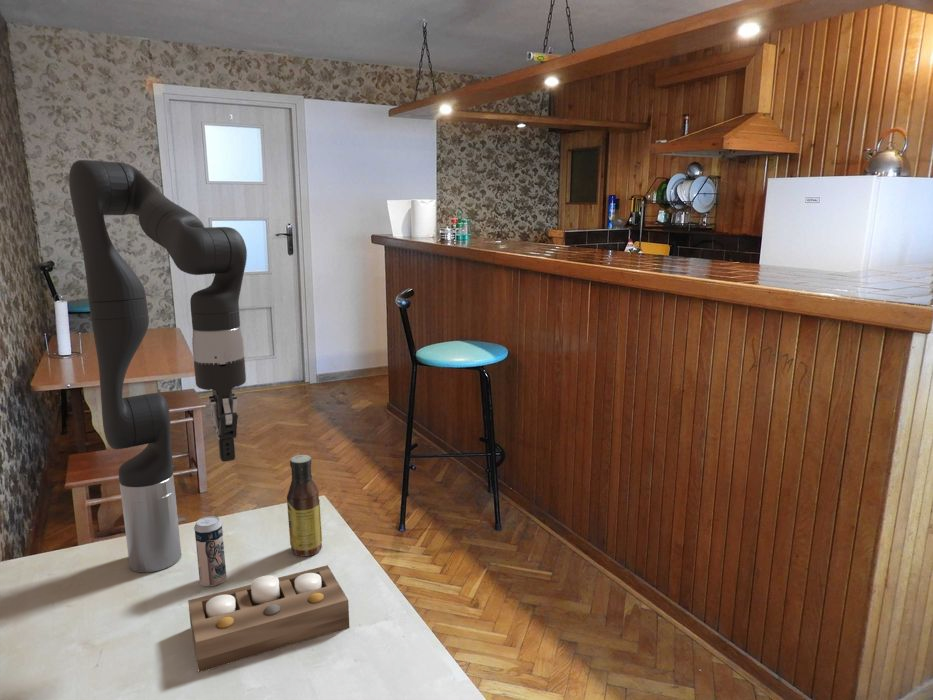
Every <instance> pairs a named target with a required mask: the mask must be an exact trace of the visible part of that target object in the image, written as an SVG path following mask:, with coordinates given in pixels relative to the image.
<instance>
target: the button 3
mask: <svg viewBox="0 0 933 700" xmlns="http://www.w3.org/2000/svg"><path fill="white" fill-rule="evenodd" d="M319 588H322V583H321V576H320V575H319V574H316V573H306V574H302V575H300V576H298V577H297V578H296V579H295V593H296V595H297V594H301V593H304V592H308V591H312V590H316V589H319Z"/></svg>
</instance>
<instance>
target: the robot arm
mask: <svg viewBox="0 0 933 700" xmlns="http://www.w3.org/2000/svg"><path fill="white" fill-rule="evenodd" d="M68 186H69V194H70V200H71V204H72V209H73V213H74V218H75V223H76V227H77V231H78V236H79V241H80V245H81V251H82V255H83V263H84V270H85V279H86V280H85V281H86V287H87V298H88V300H87V301H88V306H89V314H90V322H91V327H92V332H93V339H94V346H95V350H96V358H97V364H98V373H99V388H100V400H101V401H100V402H101V403H100V404H101V417H102V418H101V419H102V428H103V433H104V437H105V440H106V442H107V444H108V446H109V447H110V448H111V449H113V450H123V449H124V450H125V449H128V448H133V447H140V446H144V445H146V447H144V449H143V450H141V451H140V452H139V453H138V454H136V455H134V456H132V457H130V459H128V460H126V461H125V462H123V463H122V464H121V465H120V466H119V469H118V472H117V473H118V481H119V489H120V497H121V498H120V499H121V507H122V514H123V515H122V516H123V522H124V531H125V537H126V539H125V540H126V547H127V557H128V563H129V568H130V569H131V570H133V572H139V573H152V572H158V571H160V570H161V571H162V570H164V569H166V568H170V567H171V566H173V565H175V564H176V563H178V561H180V559H181V558H182V549H181V548H182V547H181V538H180V537H181V535H180V526H179V517H178V508H177V497H176V489H175V488H176V487H175V479H174V477H175V476H174V469H173V453H172V452H173V451H172V434H171V432H172V431H171V430H172V429H171V413H170V408H169V405H168V401H167V400H166V398H165V396H163V394H161V393H158V392H152V393H146V394H145V393H144V394H140V395H133V396H127V397H123V390H124V381H125V378H126V374H127V371H128V368H129V366H130V364H131V362H132V359H133V358H134V356H135V355H136V352H137V351H138V350H139V348H140V346H141V344H142V342H143V339H144V338H145V336H146V334H147V331H148V328H149V324H150V317H149V309H148V308H149V307H148V301H147V294H146V289H145V286H144V284H143V283H142V281H141V279H140V278H139V276H138V275H137V274H136V273H135V272H134V270H133V269H132V268H131V267H130V265H129V264H128V263H127V261H126V260H125V259H124V258H123V257H122V255H121V254H120V253H119V252H118V250H117V249H116V247H115V246H114V244H113V242H112V240H111V237H110V235H109V232H108V229H107V226H106V222H105V216H127V215H135V216H138V224H139V225H140V228H141V230H142V231H143V233H144V235H146V236H147V237H148V238H149V239H151V240H152V241H153V242H155V243H156V244H158V245H159V246H161V247H163V248H164V249H165V250H166V252H167V253H168V255H169V256H170V258H171V259H172V261H173V263H174V265H175V266H176V267H177V269H179V270H180V271H181V272H183V273H186V274H189V275H193V276H201V275H202V276H203V275H213V274H214V277H213V281H212V282H211V284H210V285H209V286H207V287H205V288H203V289H200V290H197V291H195V292H193V293H192V295H191V296H190V300H189V301H190V304H189V305H190V314H191V327H192V328H191V329H192V338H191V339H192V340H191V341H192V343H191V344H192V346H191V347H192V355H193V357H192V359H193V367H194V380H195V386H196V387H197V388H198V389H201V390H206V391H211V392H212V393H211V394H212V395H208V396H207V398H208V400H207V401H208V406H210V413H211V414H210V415H211V420H212V423H213V427H214V428H213V429H215V431H216V432H215V435H216V437H217V440H218V441H217V442H218V452H219V458H220V461H221V462H224V463H225V462H230V461H234V460H235V459H236V452H235V440H234V439H236V438H237V436H238V433H237V429H238V418H239V415H238V414H237V408H238V407H239V406H238V404H239V403H238V397H237V396H236V395H235V392H233V391H232V390H233V389H234V388H239V387H241V386H242V385H244V384H245V383H246V382H247V376H246V375H247V374H246V363H245V362H246V359H245V349H244V338H243V335H242V334H243V333H242V329H241V320H240V305H239V300H240V294H241V290H242V289H241V288H242V286H243V285H242V284H243V280H244V274H245V269H246V265H247V257H248V252H247V251H248V250H247V246H246V243H245V240H244V238H243V237H242V235H241V233H240V232H239V231H238V230H236V228H232V227H230V226H229V227H228V226H215V227H214V226H213V227H212V226H211V227H205V225H204V223H203V222H202V220H201V219H199V217H197V215H195V214H193V213H192V212H191V211H189V210H187V209H186V208H183V206H180V205H178V204H177V203H175V202H174V201H171V200H170V199H169V198H168V197H166V196H165V194H164V193H162V192H161V191H160V190H159V189H158V188H157V187H156V185H154V184H153V182H151V181H150V179H148V178H147V177H146V176H145V175H144V174H143V173H142V172H141V171H140V170H139V169H138V168H136V167H135V166H133V165H131V164H129V163H125V162H119V161H103V160H89V159H88V160H87V159H80V160H76V161H75V162H73V163H72V165H71V166H70V170H69V173H68Z"/></svg>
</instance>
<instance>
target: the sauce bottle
mask: <svg viewBox="0 0 933 700" xmlns="http://www.w3.org/2000/svg"><path fill="white" fill-rule="evenodd" d="M289 467H290V470H291V482H290V485H289V488H288V491H287V495H286V505H287V516H288V517H287V518H288V532H289V545H290V546H291V552H292V553H293V554H294V555H296V556H299V557H311V556H314V555H315V554H317V553H319V552H320V551H321V550H322V547H323V543H322V542H323V531H322V516H321V515H322V514H321V502H320V501H321V500H320V495H319V493H320V491H319V487H318V485H317V484H316V483H315V480H313V475H312V457H311V456H310V455H308V454H297V455H295V456H293V457H291V458H290V460H289Z"/></svg>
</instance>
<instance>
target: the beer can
mask: <svg viewBox="0 0 933 700" xmlns="http://www.w3.org/2000/svg"><path fill="white" fill-rule="evenodd" d="M193 530H194V537H195V546H196V554H197V555H196V556H197V567H198V576H199V581H198V582H199V584H200V585H202V586H203V587H204V586H205V587H210V588H211V587H215V586H219V585H221V584H222V583H224V582H225V581H226V580H227V578H228V575H227V569H226V557H225V556H226V555H225V546H224V534H223V533H224V532H223V531H224V530H223V522H222V520H221V519H220V518H219V517H217V516H214V515H212V516H211V515H209V516H205V517H201V518H199V519H198V520H197V521H196V522H195V524H194V528H193Z"/></svg>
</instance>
